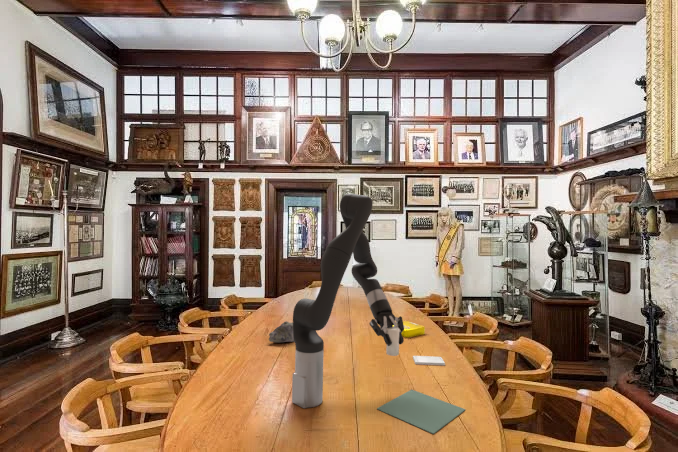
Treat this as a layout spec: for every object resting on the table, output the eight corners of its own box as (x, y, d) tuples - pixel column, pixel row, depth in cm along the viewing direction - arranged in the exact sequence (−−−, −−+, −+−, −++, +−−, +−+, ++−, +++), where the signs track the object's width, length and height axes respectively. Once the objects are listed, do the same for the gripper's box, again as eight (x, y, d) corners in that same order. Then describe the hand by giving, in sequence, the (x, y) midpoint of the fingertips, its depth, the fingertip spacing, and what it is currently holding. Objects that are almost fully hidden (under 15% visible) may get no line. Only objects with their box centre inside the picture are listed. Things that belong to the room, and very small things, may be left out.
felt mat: (433, 434, 105) (433, 433, 105) (376, 409, 119) (376, 408, 119) (465, 410, 119) (465, 409, 119) (411, 390, 133) (411, 389, 133)
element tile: (426, 334, 205) (426, 325, 205) (406, 338, 197) (407, 329, 197) (406, 328, 217) (406, 319, 217) (387, 331, 209) (387, 323, 209)
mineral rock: (268, 344, 181) (268, 323, 181) (271, 338, 191) (272, 318, 192) (294, 345, 181) (295, 324, 181) (297, 338, 192) (297, 319, 192)
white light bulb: (394, 356, 133) (394, 331, 133) (383, 353, 136) (384, 328, 136) (401, 353, 137) (401, 329, 137) (391, 350, 140) (391, 326, 140)
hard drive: (441, 356, 166) (412, 355, 167) (445, 363, 158) (415, 361, 159) (440, 360, 166) (412, 358, 167) (445, 366, 158) (415, 365, 159)
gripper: (366, 299, 140) (383, 341, 129) (398, 297, 146) (416, 336, 136) (359, 310, 145) (374, 351, 134) (390, 308, 151) (407, 346, 140)
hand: (395, 343), depth 135 cm, fingers closed on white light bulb, 4 cm apart
